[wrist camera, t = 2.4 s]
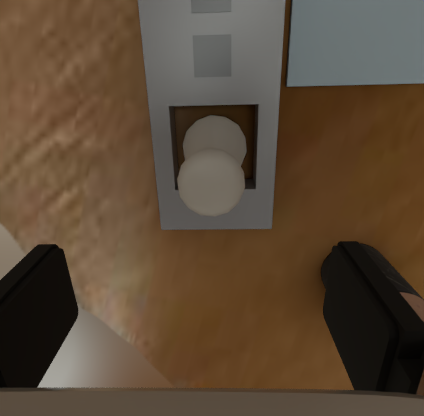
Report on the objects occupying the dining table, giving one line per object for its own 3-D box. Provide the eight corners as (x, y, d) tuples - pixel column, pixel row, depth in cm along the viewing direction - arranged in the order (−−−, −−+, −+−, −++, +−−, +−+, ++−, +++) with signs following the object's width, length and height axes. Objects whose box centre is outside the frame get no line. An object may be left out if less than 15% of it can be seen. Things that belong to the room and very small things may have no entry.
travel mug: (329, 236, 34) (450, 425, 16) (396, 246, 35) (590, 443, 16) (310, 291, 38) (393, 502, 19) (372, 300, 38) (512, 516, 20)
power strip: (137, -95, 23) (122, -124, 20) (284, -102, 23) (295, -133, 20) (166, 216, 34) (159, 233, 31) (267, 215, 34) (272, 232, 30)
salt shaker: (196, 102, 29) (178, 126, 17) (253, 123, 30) (274, 159, 18) (178, 160, 31) (152, 216, 20) (232, 178, 32) (237, 243, 20)
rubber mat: (297, -86, 23) (298, -89, 23) (461, -93, 23) (467, -97, 22) (285, 86, 28) (286, 86, 28) (421, 82, 28) (425, 83, 27)
